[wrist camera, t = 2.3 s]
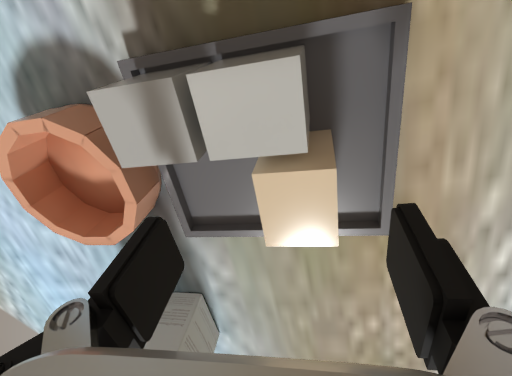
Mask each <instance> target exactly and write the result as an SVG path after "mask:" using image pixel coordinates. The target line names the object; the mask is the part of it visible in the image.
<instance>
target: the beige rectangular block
mask: <svg viewBox="0 0 512 376" xmlns="http://www.w3.org/2000/svg"><path fill="white" fill-rule="evenodd" d="M252 179H253V184H254V189H255V193H256V198H257V203H258V208H259V213H260V218H261V223H262V228H263V233H264V237H265V242H266V246H339V239H338V203H337V168H336V161H335V154H334V147H333V140H332V133H331V129H329V130H319V131H309V143H308V153H299V154H287V155H275V156H263V157H259V158H258V160H257V162H256V165H255V167H254V170H253V172H252Z"/></svg>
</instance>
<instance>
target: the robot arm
mask: <svg viewBox="0 0 512 376" xmlns="http://www.w3.org/2000/svg"><path fill="white" fill-rule="evenodd" d="M386 261H387V268H388V271H389V274H390V277H391V280H392V283H393V286H394V289H395V292H396V295H397V298H398V301H399V304H400V307H401V310H402V313H403V317H404V320H405V323H406V326H407V329H408V332H409V335H410V338H411V341H412V344H413V347H414V350H415V353H416V355H417V357H418V358H423V359H424V362H425V364H426V367H427V370H437V371H438V373H439V374H436V373H431V372H426V371H421V370H414V369H406V368H399V367H390V366H379V365H368V364H357V363H345V362H332V361H318V360H304V359H290V358H276V357H262V356H247V355H232V354H217V353H201V352H186V351H169V350H152V349H143V348H144V346H145V344H146V342H148V341H149V340H150V339H151V337H152V335H153V333H154V331H155V329H156V327H157V325H158V323H159V321H160V318H161V316H162V314H163V312H164V310H165V308H166V306H167V304H168V302H169V299H170V297H171V295H172V293H173V291H174V289H175V287H176V285H177V283H178V280H179V278H180V276H181V274H182V272H183V270H184V261H183V259H182V256H181V254H180V252H179V250H178V247H177V245H176V243H175V240H174V238H173V236H172V234H171V231H170V229H169V227H168V224H167V222H166V221H165V220H163V219H162V218H161V217H148V218H146V219H145V220H144V222H143V223H142V224H141V225H140V227H139V228H138V229H137V231H136V232H135V233H134V234H133V236H132V237H131V238H130V240H129V241H128V242H127V243H126V245H125V246H124V247H123V249H122V250H121V251H120V252H119V254H118V255H117V256H116V258H115V259H114V260H113V261H112V263H111V264H110V265H109V267H108V268H107V269H106V270H105V272H104V273H103V274H102V276H101V277H100V278H99V279H98V281H97V282H96V283H95V285H94V286H93V287H92V288H91V290H90V291H89V292H88V294H89V295H90V299H89V300H88V301H87V300H86V299H83V298H78V299H73V300H71V301H68V302H66V303H65V304H63V305H61V306H60V307H59V308H58V309H56V310H55V311H54V312H53V313H52V314H51V315H50V317H49V318H48V320H47V321H46V324H45V327H44V332H42V333H40V334H39V335H37V336H35V337H33V338H32V339H30V340H28V341H27V342H25V343H23V344H21V345H20V346H18V347H16V348H14V349H13V350H11V351H9V352H8V353H6V354H4V355H2V356H1V357H0V376H512V312H511V311H508V310H506V309H502V308H497V307H490V306H489V304H488V303H487V301H486V300H485V298H484V297H483V295H482V294H481V292H480V290H479V289H478V287H477V286H476V284H475V283H474V281H473V279H472V278H471V276H470V275H469V273H468V272H467V270H466V269H465V267H464V265H463V264H462V262H461V261H460V259H459V258H458V256H457V254H456V253H455V251H454V250H453V248H452V247H451V245H450V243H449V242H448V241H447V240H446V239H444V238H443V239H437V238H436V236H435V235H434V233H433V231H432V230H431V228H430V226H429V225H428V223H427V221H426V220H425V218H424V216H423V215H422V213H421V211H420V210H419V208H418V206H417V205H416V204H415V203H408V204H398V205H397V208H392V210H391V218H390V228H389V239H388V249H387V259H386Z"/></svg>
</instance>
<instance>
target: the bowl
mask: <svg viewBox="0 0 512 376" xmlns="http://www.w3.org/2000/svg"><path fill="white" fill-rule="evenodd" d="M0 173H1V178H3V179H2V180H3V181H4V182H5V184H6V185H7V186H8V188H9V189H10V191H11V192H12V193H13V195H14V196H15V197H16V199H17V200H18V201H19V203H20V204H21V206H22V207H23V208H24V209H25V210H26V211H27V212H28V213H30V214H31V215H32V216H34V217H35V218H36V219H38V220H39V221H40V222H41V223H43V224H44V225H45V226H47V227H48V228H49V229H51V230H52V231H53V232H55V233H57V234H60V235H62V236H65V237H67V238H70V239H72V240H75V241H77V242H80V243H82V244H85V245H115V244H117V243H118V242H119V241H121V240H122V239H123V238H125V237H126V236H128V235H129V234H130V233H132V232H133V231H134V230H135V229H136V228H137V226H138V225H139V224H140V223H141V222H142V221H143V219H144V218H145V217H146V216H147V215H148V214H149V212H150V211H151V210H152V209H153V208H154V207H155V203H156V201H157V199H158V197H159V195H160V191H161V174H160V170H159V167H158V165H155V166H143V167H131V168H122V167H121V165H120V163H119V161H118V158H117V156H116V154H115V152H114V150H113V148H112V146H111V143H110V141H109V139H108V137H107V135H106V133H105V131H104V128H103V126H102V124H101V122H100V120H99V118H98V116H97V113H96V111H95V109H94V107H93V105H89V104H70V105H66V106H63V107H58V108H52V109H48V110H45V111H42V112H39V113H36V114H33V115H30V116H27V117H24V118H21V119H18V120H15V121H12V122H9V123H7V125H6V127H5V129H4V130H3V132H2V134H1V136H0Z"/></svg>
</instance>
